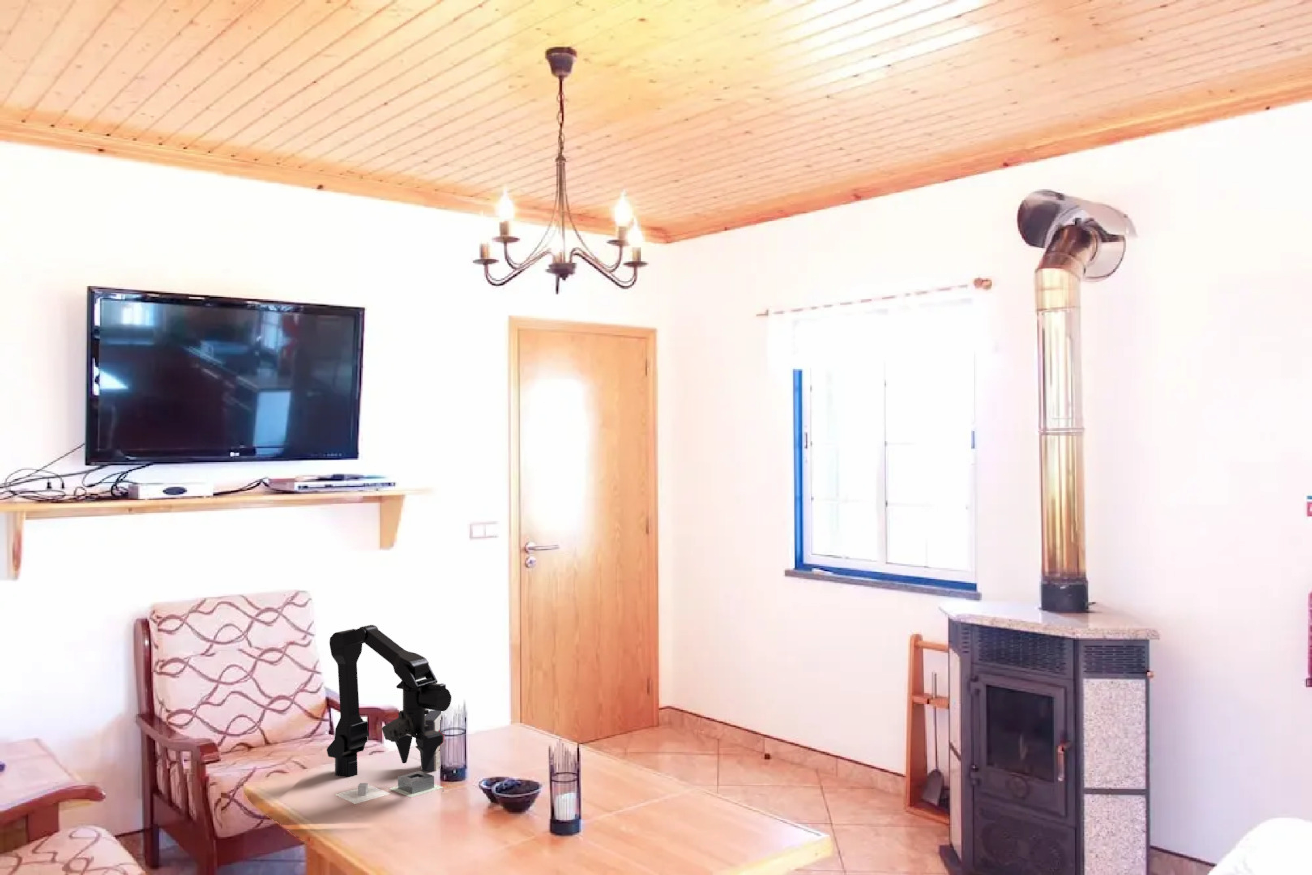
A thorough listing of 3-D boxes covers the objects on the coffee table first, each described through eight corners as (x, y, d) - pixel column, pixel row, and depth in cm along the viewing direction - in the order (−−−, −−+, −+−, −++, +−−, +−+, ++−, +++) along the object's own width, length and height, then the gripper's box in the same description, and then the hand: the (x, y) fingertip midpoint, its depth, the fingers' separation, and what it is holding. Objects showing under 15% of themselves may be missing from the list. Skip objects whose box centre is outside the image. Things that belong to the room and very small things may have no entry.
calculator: (436, 775, 277) (436, 720, 277) (420, 775, 277) (420, 720, 277) (445, 762, 288) (445, 709, 288) (430, 762, 288) (430, 709, 288)
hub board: (389, 792, 263) (389, 778, 263) (422, 782, 270) (422, 769, 270) (410, 801, 256) (410, 787, 256) (443, 791, 263) (443, 777, 263)
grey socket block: (398, 788, 263) (397, 776, 263) (419, 782, 268) (419, 770, 268) (412, 793, 258) (412, 782, 258) (434, 787, 263) (434, 775, 263)
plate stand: (334, 798, 258) (334, 784, 258) (369, 788, 265) (369, 775, 266) (355, 807, 251) (355, 793, 251) (390, 797, 259) (390, 783, 259)
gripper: (367, 706, 265) (367, 766, 264) (407, 718, 252) (407, 781, 251) (404, 698, 273) (404, 756, 272) (444, 710, 260) (444, 771, 260)
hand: (414, 766), depth 264 cm, fingers open, 9 cm apart
